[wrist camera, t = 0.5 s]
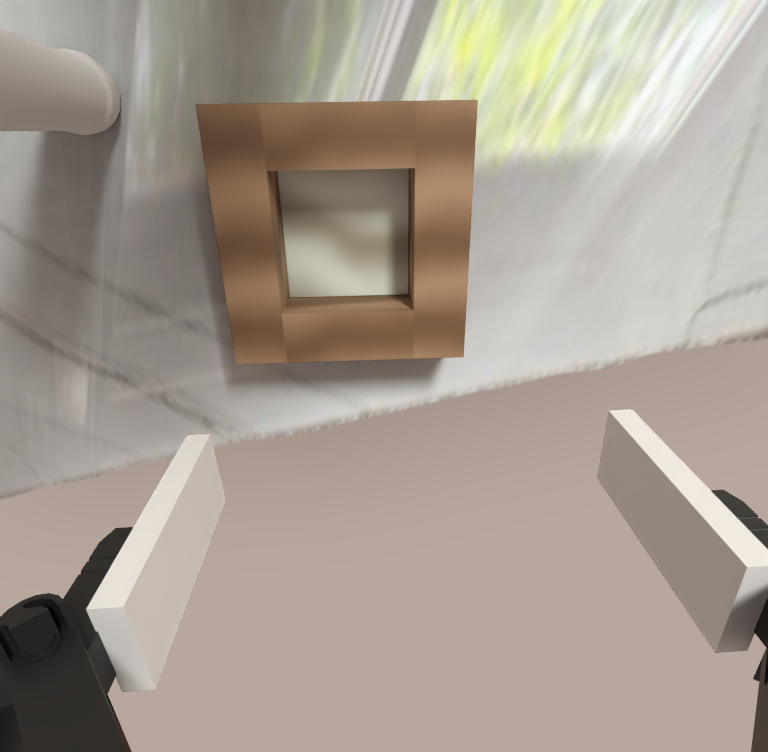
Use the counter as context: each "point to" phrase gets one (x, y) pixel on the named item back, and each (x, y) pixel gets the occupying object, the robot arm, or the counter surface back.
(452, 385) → the counter surface
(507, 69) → the counter surface
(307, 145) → the frame
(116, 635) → the robot arm
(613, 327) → the counter surface
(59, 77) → the bottle
